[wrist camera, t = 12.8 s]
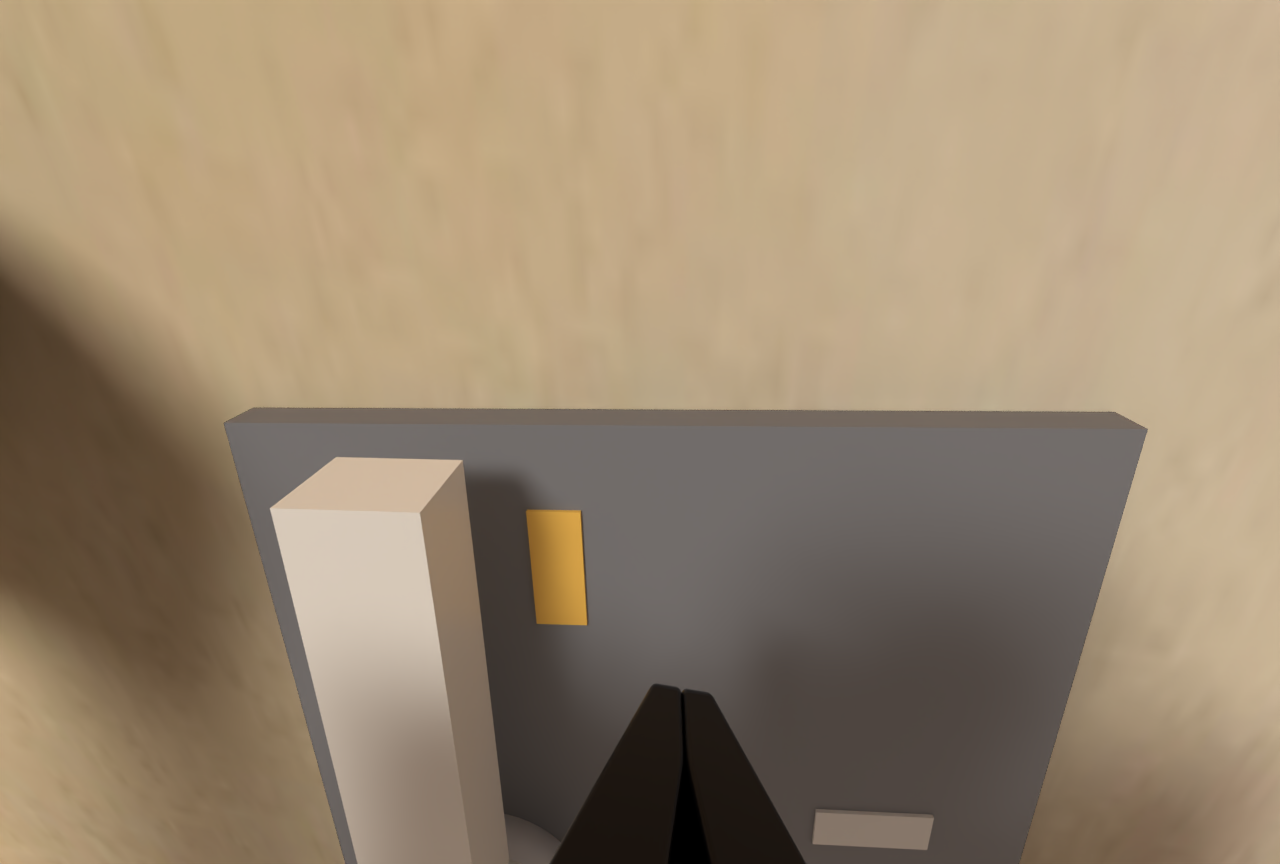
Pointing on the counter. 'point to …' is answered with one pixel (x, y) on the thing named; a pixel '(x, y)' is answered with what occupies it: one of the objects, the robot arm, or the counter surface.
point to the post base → (759, 599)
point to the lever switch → (397, 656)
